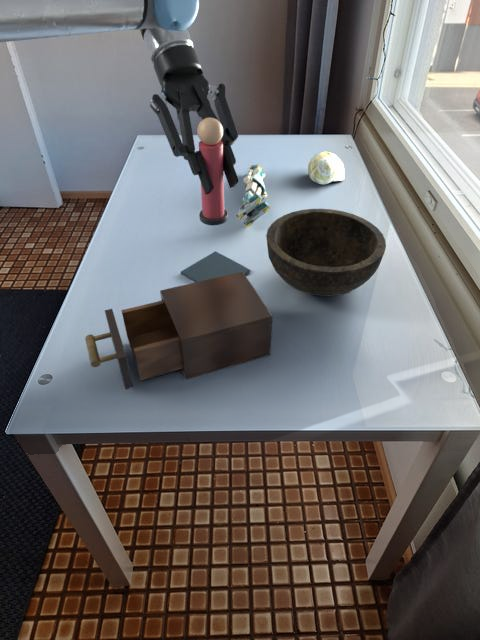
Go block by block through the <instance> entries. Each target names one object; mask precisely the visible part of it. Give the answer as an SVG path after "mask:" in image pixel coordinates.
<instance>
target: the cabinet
mask: <svg viewBox="0 0 480 640" xmlns="http://www.w3.org/2000/svg"><path fill="white" fill-rule="evenodd" d="M159 294H160V301H162V300H163V301H164V303H165V306H166V308H167V310H168V313H169V315H170V317H171V320H172V322H173V324H174V327H175V329H176V331H177V334H178V336H179V338H180V341H181V350H182V358H183V367H184V368H182V369H181V371H182V374H183V376H184V378H185V380H188V379H191V378H196V377H198V376H202V375H205V374H210V373H212V372H216V371H219V370H223V369H226V368H231V367H233V366H236V365H240V364H244V363H247V362H250V361H255V360H257V359H261V358H264V357H268V356H271V352H272V351H271V350H272V337H273V336H272V334H273V319H274V318H273V315H272V313H271V312H270V310H269V308H268V307H267V306H266V304H265V302H264V301H263V300H262V298H261V296H260V295H259V293H258V291H256V289H255V288H254V286H253V285H252V283H251V281H250V279H248V277H247V275H245V274H244V273H243V271H242V272H238V273H233V274H229V275H225V276H221V277H216V278H212V279H208V280H203V281H199V282H191V283H190V282H189V283H186V284H182V285H178V286H174V287H169V288H163V289H160V290H159Z"/></svg>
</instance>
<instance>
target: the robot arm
mask: <svg viewBox="0 0 480 640" xmlns="http://www.w3.org/2000/svg"><path fill="white" fill-rule="evenodd" d="M199 8H200V0H0V43H6V42H7V43H9V42H17V41H29V40H38V39H49V38H58V37H69V36H79V35H80V36H81V35H89V34H101V33H110V32H119V31H129V30H131V31H132V30H134V31H135V30H137V31H138V30H139V32H140V34H141V37H142V40H143V42H144V45H145V47H146V50H147V52H148V56H149V58H150V61H151V63H152V64H153V69H154V72H155V74H156V77H157V80H158V83H159V85H160V88H161V92H160V93H159V94H156V93H155V94H153V95H152V97H151V100H150V104H149V107H150V109H152V111H153V112H154V114H156V115H157V117H158V120H159V122H160V125H161V128H162V129H163V133H164V134H165V137H166V139H167V142H168V144H169V147H170V149H171V151H172V154H173V156H174V157H176V158H178V157H183V159H184V160H185V161H187V162H188V165H189V169H190V171H191V173H192V175H193V176H194V177H195V176H198V178H199V180H200V185H201V184H202V187H203V189H204V192H205V195H206V194H210V192H211V191H212V190H213V189H214V186H213V183H212V180H211V178H210V175H209V172H208V170H207V167H206V164H205V161H204V159H203V156H202V153H201V151H199V150H196V145H195V140H194V134H193V127H192V122H191V116H190V113H191V112H196V114H197V115H198V117H199V118H201V119H202V120H203V119H205V118H215V119H217V120H218V121H219V122H220V123H221V125H222V127H223V136H222V139H221V141H222V142H223V172H224V177H225V178H226V182H227V184H228V187H229V189H233V188H235V187H236V185H237V184H238V183H240V180H239V177H238V174H237V171H236V169H235V165H236V164H237V160H236V159H237V158H236V157H235V154H234V151H233V148H232V145H234V143H235V142H236V141H237V139H238V138H239V133H238V130H237V128H236V125H235V122H234V119H233V116H232V113H231V110H230V107H229V103H228V101H227V98H226V85H225V84H224V83H219V84H218V85H215V84H210V82H209V81H208V79H207V78H206V77H205V76H204V72H203V67H202V65H201V62H200V59H199V57H198V54H197V51H196V49H195V48H194V47H195V46H194V43H193V40H192V38H191V35H190V32H189V30H188V28H190V27H191V26H192V24H193V23H194V22H195V20H196V18H197V15H198V13H199V10H200V9H199ZM209 94H210V97H211V100H212V101H213V102H214V107H215V111H216V114H217V115H216V114H215V112H214V110H213V108H212V106H211V105H212V104H211V102H210V100H209V99H208V95H209ZM167 104H169V105H170V106H172V107H173V108H174V109H175V111H176V117H177V120H178V123H179V131H180V134H179V132H178V129H177V127H176V124H175V122H174V120H173V117H172V115H171V112H170V109H169V107H168V106H167ZM217 116H218V117H217ZM180 136H181V137H180Z"/></svg>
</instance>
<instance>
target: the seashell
mask: <svg viewBox="0 0 480 640" xmlns="http://www.w3.org/2000/svg"><path fill="white" fill-rule="evenodd" d="M307 171H308V172H307V173H308V177H309V179H310V180H311V181H312V182H314V183H315V184H318V185H328V184H330V183H332V182H342V181H344V180H345V166H344V163H343V161H342V159H341V158H340V157H339V156H338V155H337V154H335V153H333V152H331V151H321V152H318V153H317V154H315V155H313V157H311V159H310V160H309V162H308V164H307Z"/></svg>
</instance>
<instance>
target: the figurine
mask: <svg viewBox="0 0 480 640" xmlns="http://www.w3.org/2000/svg"><path fill="white" fill-rule="evenodd" d="M265 178H266V172H265V171H263V166H261V164H252V165H250V166H249V169H248V172H247V173H246V174H245V176H244V178H243V182H244V184H245V186H244V187H245V195H244V197H243V198H242V205H241V206H240V208H239V210H238V212H237V213H236V214H235V217H236V218H237V220H241V219H243V218H245V216H246V218H245V219H244V220H243V221H242V224H243V225H244V226H245V228H249V227H250V226H251V225H252V224H254V222H256V221H257V220H259V218H261V217H262V216H263V215H264V214H266V213H267V212H268V211H269V210H270V209H271V208H270V204H269V202H266V201H264V200H265V199H266V198H267V197H268V192H267V191H266V186H265V182H264V179H265Z"/></svg>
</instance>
